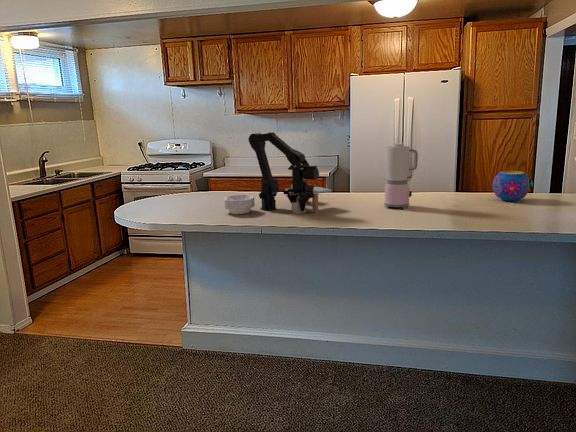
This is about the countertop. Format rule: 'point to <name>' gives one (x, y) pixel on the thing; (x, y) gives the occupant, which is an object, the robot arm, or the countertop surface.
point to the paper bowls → (239, 203)
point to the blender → (398, 175)
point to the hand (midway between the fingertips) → (298, 210)
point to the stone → (297, 208)
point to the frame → (313, 203)
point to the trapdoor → (320, 190)
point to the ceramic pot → (511, 185)
